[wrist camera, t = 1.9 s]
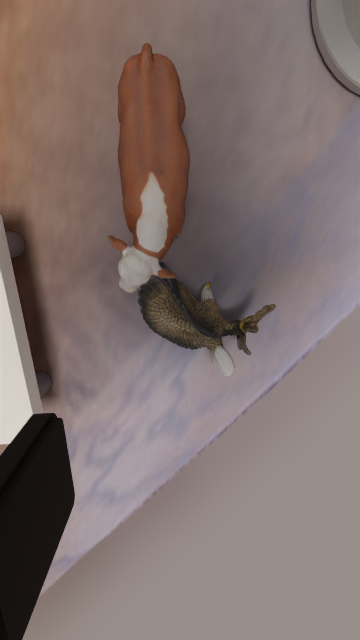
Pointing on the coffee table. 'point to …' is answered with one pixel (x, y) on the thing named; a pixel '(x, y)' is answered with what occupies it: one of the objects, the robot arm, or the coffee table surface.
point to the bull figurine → (150, 165)
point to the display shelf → (15, 349)
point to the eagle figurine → (194, 319)
